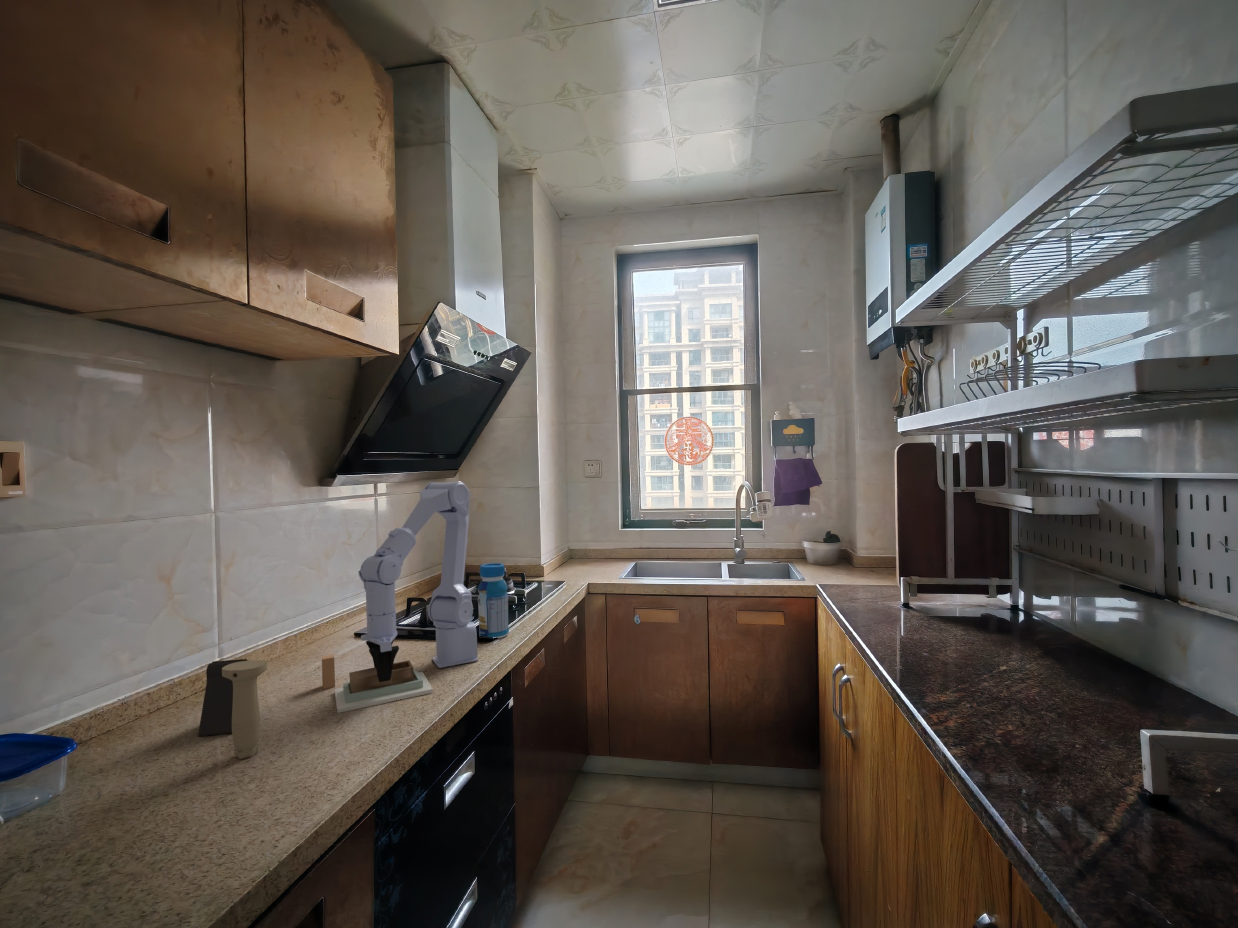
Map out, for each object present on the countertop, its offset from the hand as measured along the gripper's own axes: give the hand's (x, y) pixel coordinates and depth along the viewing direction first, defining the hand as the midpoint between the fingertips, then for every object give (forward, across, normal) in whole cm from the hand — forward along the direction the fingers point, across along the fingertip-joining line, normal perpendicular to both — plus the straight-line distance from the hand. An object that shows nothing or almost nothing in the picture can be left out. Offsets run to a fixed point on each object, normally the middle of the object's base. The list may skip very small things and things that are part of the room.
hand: (383, 676), depth 119 cm
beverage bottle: (+4, -27, +32) cm, 42 cm away
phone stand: (+4, 0, -27) cm, 27 cm away
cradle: (+3, 0, 0) cm, 3 cm away
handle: (+4, +16, -23) cm, 28 cm away
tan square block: (+3, -11, -10) cm, 15 cm away
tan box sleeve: (+2, 0, 0) cm, 3 cm away
